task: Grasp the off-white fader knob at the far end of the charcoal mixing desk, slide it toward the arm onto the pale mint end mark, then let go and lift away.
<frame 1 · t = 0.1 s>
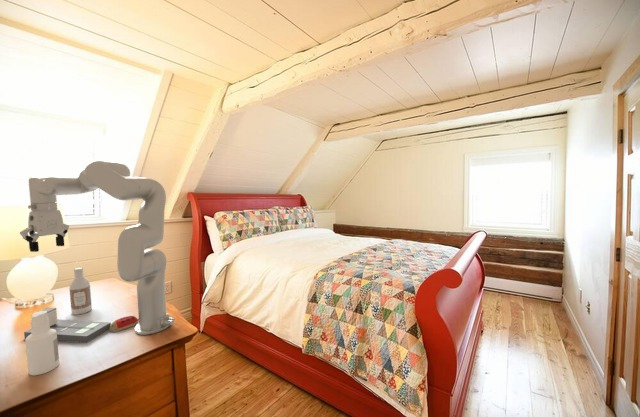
hand: (48, 248, 113), 31 cm above the nightstand, tool pointing down, fingers open, 9 cm apart
mixing desk: (69, 333, 106), on the nightstand
white bottle: (44, 369, 86), on the nightstand
fader knob: (47, 317, 106), point 6 cm above the nightstand, slide at 9.0 cm
bath foam: (82, 311, 124), on the nightstand
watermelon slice: (124, 327, 111), on the nightstand
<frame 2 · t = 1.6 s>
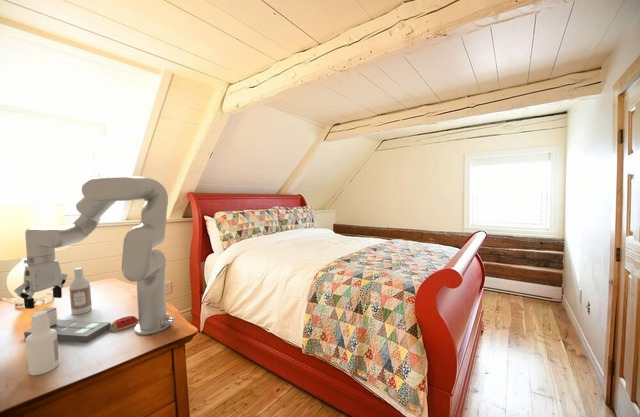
hand: (44, 302, 106), 12 cm above the nightstand, tool pointing down, fingers open, 9 cm apart
nothing on the nightstand moved.
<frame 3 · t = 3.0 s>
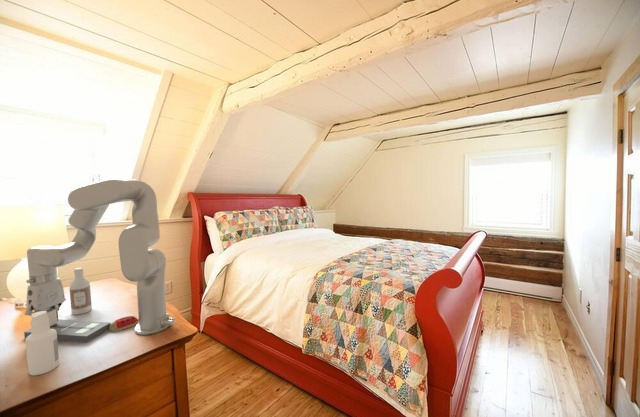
hand: (48, 323, 107), 3 cm above the nightstand, tool pointing down, fingers closed on fader knob, 3 cm apart
fader knob: (47, 317, 106), point 6 cm above the nightstand, slide at 9.0 cm, touching gripper
everything else where it was.
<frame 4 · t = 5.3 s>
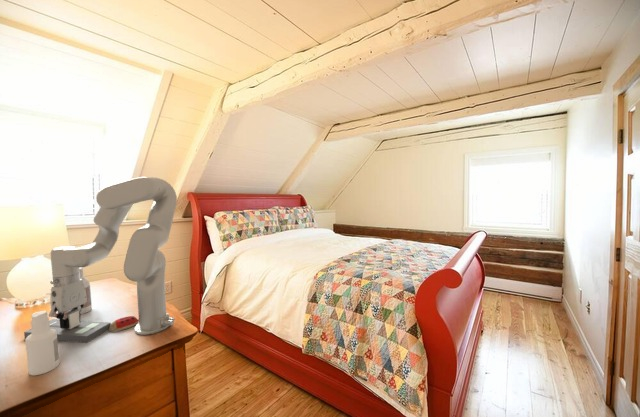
hand: (70, 324, 105), 3 cm above the nightstand, tool pointing down, fingers closed on fader knob, 3 cm apart
fader knob: (70, 318, 105), point 6 cm above the nightstand, slide at -0.9 cm, touching gripper
everything else where it was.
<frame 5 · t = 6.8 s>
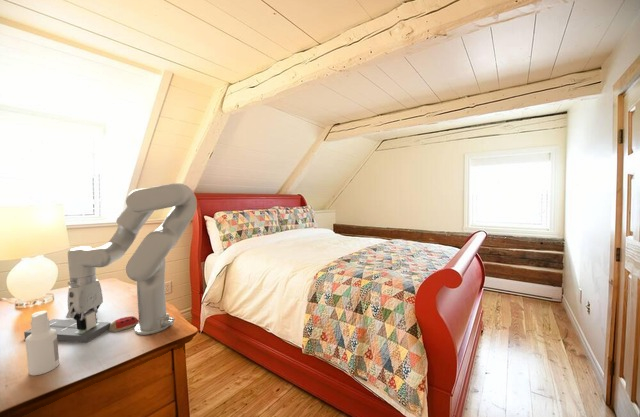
hand: (87, 325, 105), 3 cm above the nightstand, tool pointing down, fingers closed on fader knob, 3 cm apart
fader knob: (86, 319, 104), point 6 cm above the nightstand, slide at -8.0 cm, touching gripper
everything else where it was.
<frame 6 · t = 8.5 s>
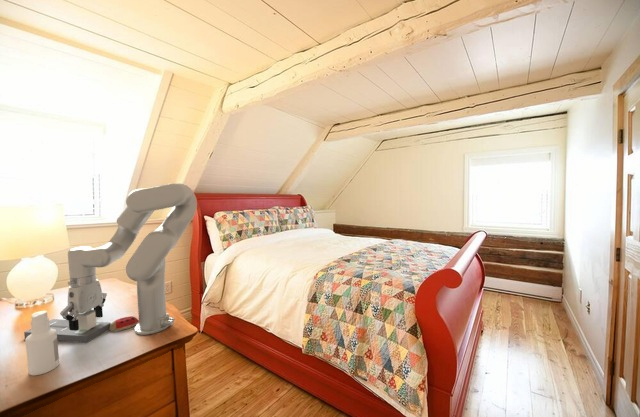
hand: (87, 323, 105), 4 cm above the nightstand, tool pointing down, fingers open, 9 cm apart
fader knob: (86, 319, 104), point 6 cm above the nightstand, slide at -8.0 cm
everything else where it was.
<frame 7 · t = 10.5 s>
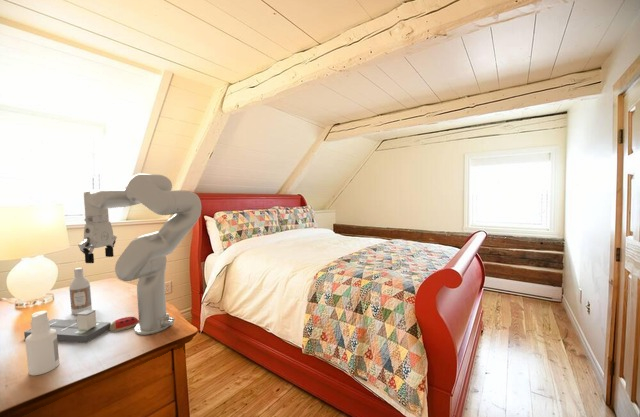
hand: (100, 259, 116), 26 cm above the nightstand, tool pointing down, fingers open, 9 cm apart
nothing on the nightstand moved.
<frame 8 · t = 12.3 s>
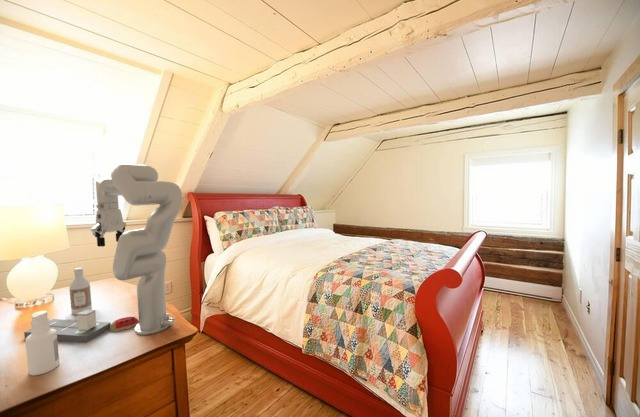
hand: (110, 243, 125), 30 cm above the nightstand, tool pointing down, fingers open, 9 cm apart
at the end: fader knob slide at -8.0 cm; the gripper is holding nothing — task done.
